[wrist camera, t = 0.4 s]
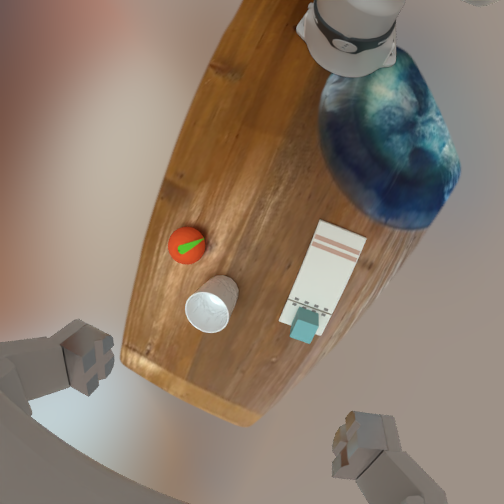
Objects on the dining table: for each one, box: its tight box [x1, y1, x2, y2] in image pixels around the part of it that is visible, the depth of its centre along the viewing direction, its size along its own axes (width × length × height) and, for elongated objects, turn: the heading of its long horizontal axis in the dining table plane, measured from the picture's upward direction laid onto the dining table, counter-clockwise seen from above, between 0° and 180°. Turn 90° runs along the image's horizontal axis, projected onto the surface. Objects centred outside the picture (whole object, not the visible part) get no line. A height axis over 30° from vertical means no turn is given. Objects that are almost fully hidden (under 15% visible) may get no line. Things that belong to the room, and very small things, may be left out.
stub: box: [279, 298, 331, 344], centre depth 54 cm, size 5×9×6 cm, turn 72°
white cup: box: [185, 275, 239, 333], centre depth 54 cm, size 8×8×10 cm
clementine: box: [168, 227, 205, 264], centre depth 54 cm, size 8×7×7 cm
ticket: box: [289, 219, 366, 314], centre depth 53 cm, size 16×9×1 cm, turn 162°
